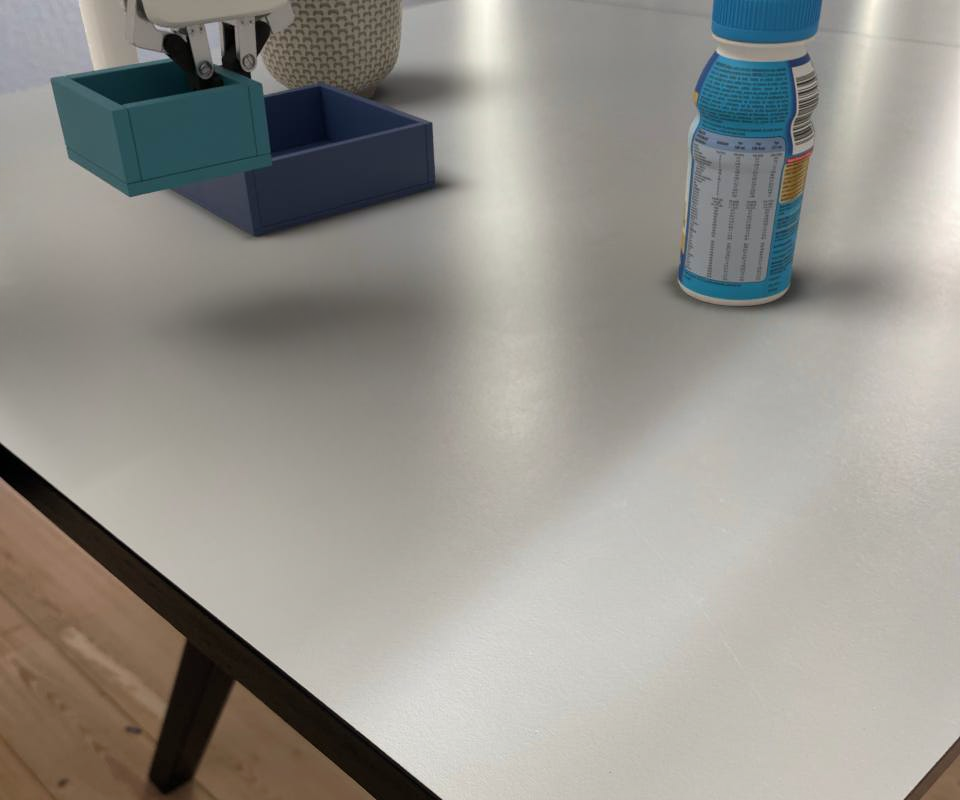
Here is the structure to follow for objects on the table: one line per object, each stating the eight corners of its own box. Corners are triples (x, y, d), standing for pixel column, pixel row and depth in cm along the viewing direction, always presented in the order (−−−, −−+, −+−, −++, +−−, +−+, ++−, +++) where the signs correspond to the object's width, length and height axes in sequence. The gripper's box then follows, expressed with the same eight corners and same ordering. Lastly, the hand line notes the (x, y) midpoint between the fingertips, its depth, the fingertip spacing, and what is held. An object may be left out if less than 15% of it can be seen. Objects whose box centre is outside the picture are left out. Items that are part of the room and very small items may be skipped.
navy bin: (254, 240, 93) (243, 168, 89) (159, 185, 105) (146, 119, 101) (436, 190, 102) (432, 122, 98) (329, 144, 113) (322, 82, 109)
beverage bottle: (696, 316, 79) (729, -4, 66) (660, 271, 86) (684, -29, 73) (809, 304, 80) (863, -14, 67) (765, 261, 87) (807, -37, 74)
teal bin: (129, 197, 69) (111, 111, 66) (68, 159, 75) (49, 77, 72) (272, 165, 73) (262, 83, 70) (203, 131, 80) (191, 54, 76)
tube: (148, 161, 111) (112, -12, 101) (107, 160, 111) (67, -12, 101) (163, 147, 114) (129, -21, 104) (123, 147, 114) (85, -21, 105)
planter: (298, 129, 118) (276, -48, 107) (234, 94, 129) (209, -68, 119) (439, 101, 124) (431, -68, 114) (367, 70, 136) (353, -86, 125)
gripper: (266, -211, 70) (299, 105, 82) (24, -200, 63) (98, 144, 75) (328, -207, 65) (354, 128, 77) (75, -194, 58) (145, 172, 70)
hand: (228, 134), depth 76 cm, fingers closed on teal bin, 1 cm apart
